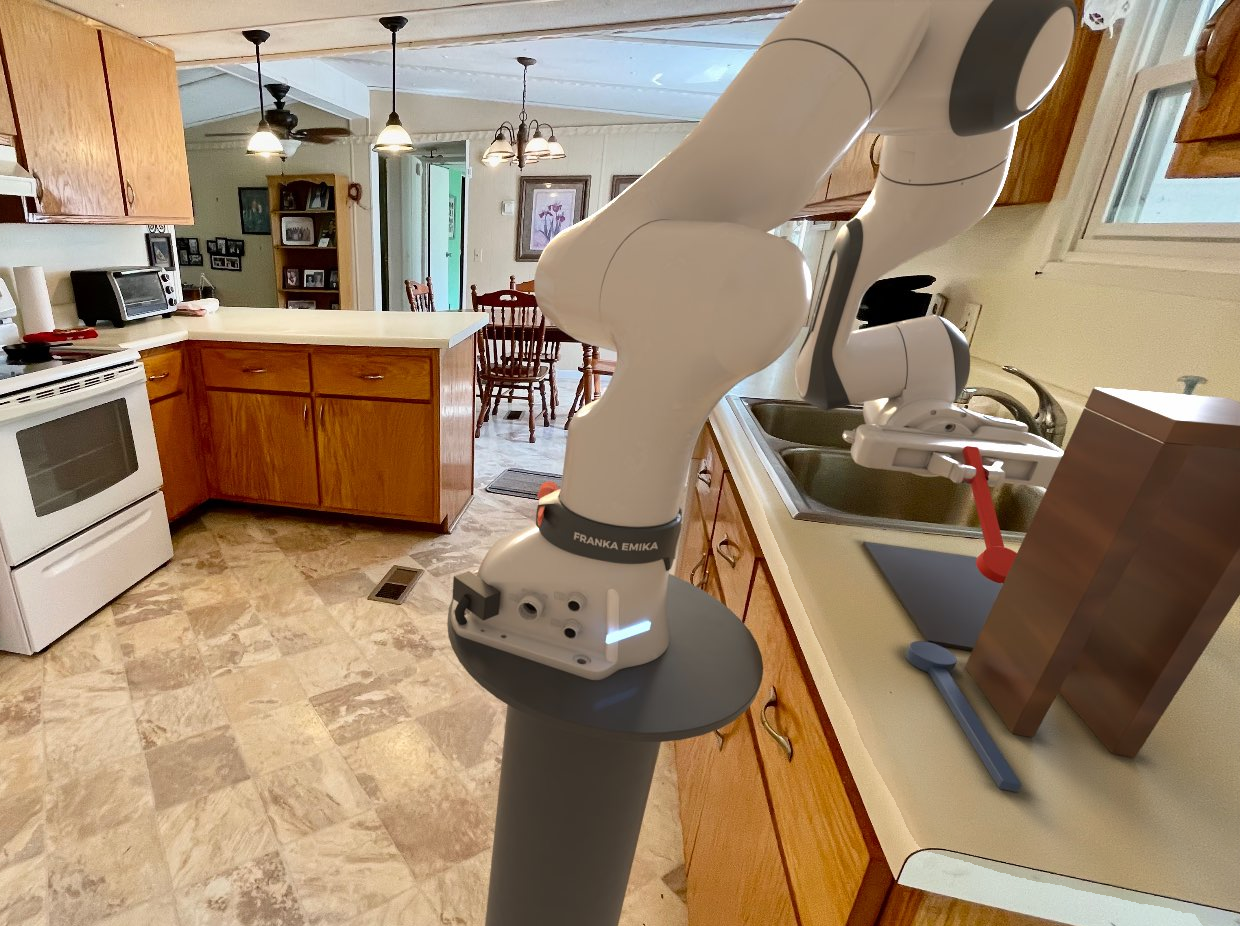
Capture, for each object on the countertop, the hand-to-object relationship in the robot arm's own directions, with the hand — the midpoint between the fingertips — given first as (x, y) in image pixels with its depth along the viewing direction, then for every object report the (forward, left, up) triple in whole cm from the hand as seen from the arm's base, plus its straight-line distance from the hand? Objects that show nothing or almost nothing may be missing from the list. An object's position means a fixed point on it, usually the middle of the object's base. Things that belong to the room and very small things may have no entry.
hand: (981, 478), depth 70 cm
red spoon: (0, -3, -3) cm, 4 cm away
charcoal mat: (0, -4, -12) cm, 13 cm away
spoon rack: (0, -23, -12) cm, 26 cm away
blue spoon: (-7, -26, -12) cm, 29 cm away
